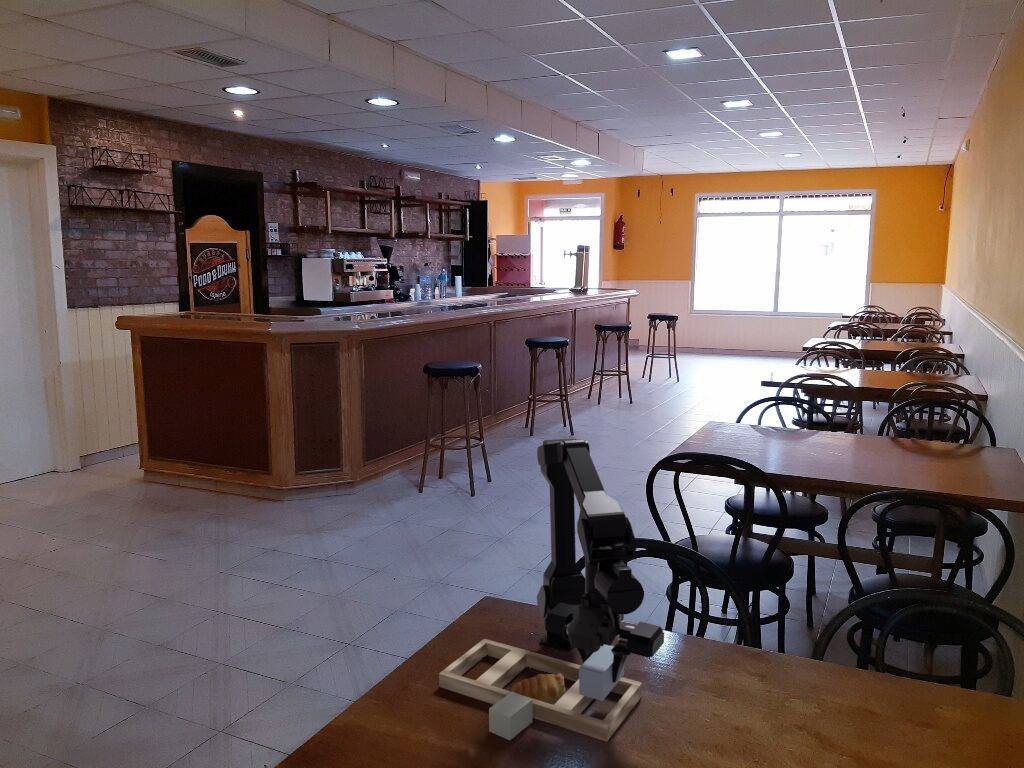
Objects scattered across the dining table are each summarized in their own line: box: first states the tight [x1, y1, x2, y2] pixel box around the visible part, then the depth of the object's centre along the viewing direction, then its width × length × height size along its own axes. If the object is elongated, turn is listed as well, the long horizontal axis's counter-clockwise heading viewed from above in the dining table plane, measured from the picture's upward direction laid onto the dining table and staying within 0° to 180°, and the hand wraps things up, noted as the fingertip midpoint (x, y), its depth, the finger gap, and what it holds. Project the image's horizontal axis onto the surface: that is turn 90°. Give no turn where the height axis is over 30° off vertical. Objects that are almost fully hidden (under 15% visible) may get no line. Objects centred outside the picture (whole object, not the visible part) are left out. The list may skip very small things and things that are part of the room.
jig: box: [438, 638, 643, 743], centre depth 133 cm, size 14×31×2 cm, turn 59°
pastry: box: [510, 673, 567, 705], centre depth 131 cm, size 9×7×4 cm
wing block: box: [579, 644, 625, 702], centre depth 126 cm, size 9×4×4 cm, turn 150°
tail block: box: [488, 692, 533, 741], centre depth 123 cm, size 6×4×4 cm, turn 143°
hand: (602, 677), depth 126 cm, fingers closed on wing block, 4 cm apart
